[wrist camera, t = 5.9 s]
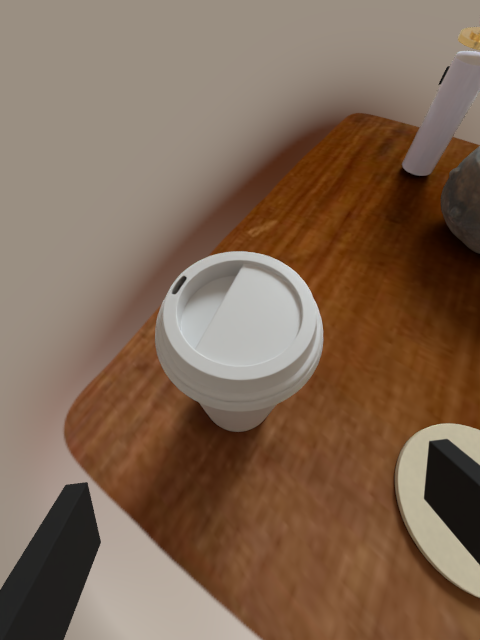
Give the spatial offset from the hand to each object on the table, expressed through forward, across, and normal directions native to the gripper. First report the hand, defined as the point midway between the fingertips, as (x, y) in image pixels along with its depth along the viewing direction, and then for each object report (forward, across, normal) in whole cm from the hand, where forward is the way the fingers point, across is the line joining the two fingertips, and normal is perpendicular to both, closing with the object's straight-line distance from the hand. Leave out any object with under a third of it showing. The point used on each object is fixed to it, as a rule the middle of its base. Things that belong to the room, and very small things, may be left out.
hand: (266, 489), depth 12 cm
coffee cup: (+16, 0, -5) cm, 17 cm away
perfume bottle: (+40, +32, +19) cm, 54 cm away
